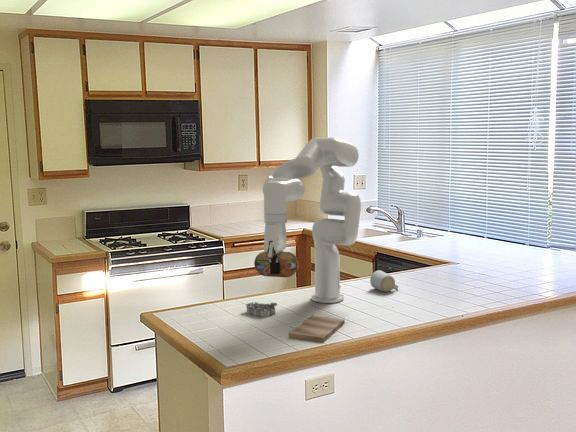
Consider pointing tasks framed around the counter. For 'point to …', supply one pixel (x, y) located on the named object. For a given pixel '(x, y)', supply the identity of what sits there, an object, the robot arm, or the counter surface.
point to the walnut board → (317, 328)
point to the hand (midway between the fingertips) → (276, 272)
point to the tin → (286, 264)
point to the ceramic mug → (382, 281)
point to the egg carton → (261, 309)
